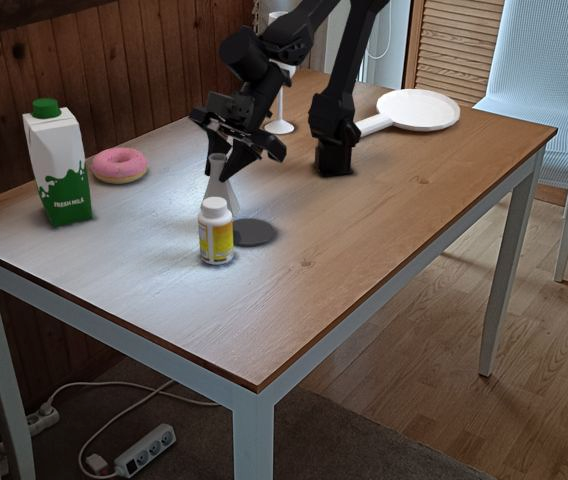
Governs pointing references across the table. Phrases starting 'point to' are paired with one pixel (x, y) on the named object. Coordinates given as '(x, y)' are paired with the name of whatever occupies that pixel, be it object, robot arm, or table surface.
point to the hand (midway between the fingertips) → (213, 178)
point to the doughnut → (119, 165)
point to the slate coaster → (251, 232)
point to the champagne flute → (280, 93)
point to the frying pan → (411, 112)
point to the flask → (221, 184)
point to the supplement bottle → (215, 231)
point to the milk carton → (58, 162)
